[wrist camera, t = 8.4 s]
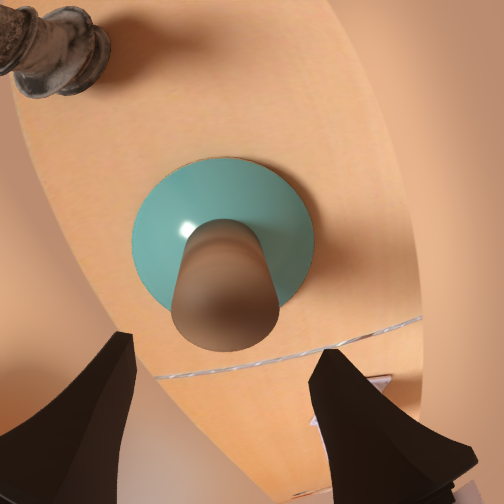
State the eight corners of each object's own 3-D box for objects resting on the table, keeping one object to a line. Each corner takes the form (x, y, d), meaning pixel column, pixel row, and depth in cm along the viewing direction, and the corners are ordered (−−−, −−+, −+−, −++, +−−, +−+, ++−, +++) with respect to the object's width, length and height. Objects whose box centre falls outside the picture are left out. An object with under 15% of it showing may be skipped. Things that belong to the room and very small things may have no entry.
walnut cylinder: (252, 292, 20) (264, 355, 14) (180, 282, 19) (168, 345, 13) (270, 226, 17) (292, 275, 12) (189, 212, 17) (175, 258, 11)
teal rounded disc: (285, 321, 23) (288, 331, 21) (137, 306, 20) (133, 315, 19) (328, 175, 18) (335, 179, 17) (142, 146, 15) (137, 148, 14)
